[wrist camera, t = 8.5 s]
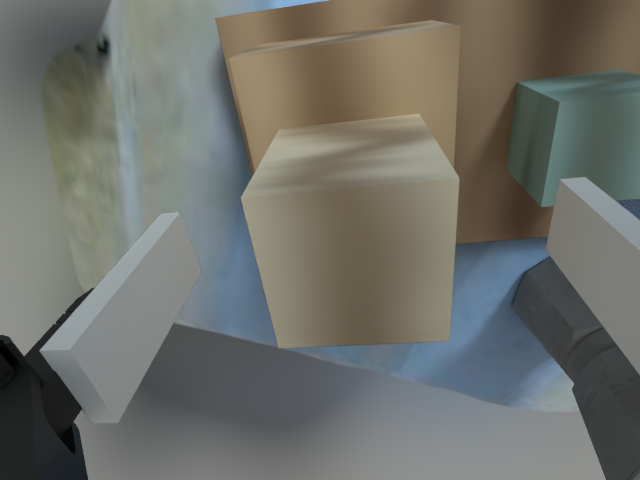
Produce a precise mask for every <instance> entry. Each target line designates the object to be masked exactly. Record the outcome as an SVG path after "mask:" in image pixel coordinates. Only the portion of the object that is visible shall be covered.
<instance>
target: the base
mask: <svg viewBox="0 0 640 480" xmlns="http://www.w3.org/2000/svg"><path fill="white" fill-rule="evenodd" d="M215 19H216V23H217V28H218V32H219V36H220V41H221V45H222V49H223V53H224V58H225V62H226V66H227V71H228V75H229V79H230V83H231V88H232V92H233V96H234V100H235V105H236V109H237V113H238V118H239V122H240V126H241V130H242V135H243V139H244V143H245V148H246V152H247V156H248V160H249V165H250V169H251V173H252V177H253V175H254V173H255V171H256V169H257V168H258V166H259V164H260V162H261V161H262V159H263V157H264V155H265V153H266V152H267V150H268V148H269V146H270V144H271V143H272V141H273V139H274V137H275V136H276V134H277V132H278V130H279V129H287V128H296V127H305V126H314V125H323V124H332V123H341V122H350V121H359V120H368V119H377V118H386V117H395V116H405V115H414V114H420V116H421V117H422V119H423V120H424V122H425V124H426V125H427V127H428V128H429V130H430V132H431V133H432V135H433V136H434V138H435V140H436V141H437V143H438V144H439V146H440V148H441V149H442V151H443V152H444V154H445V156H446V157H447V159H448V160H449V162H450V164H451V165H452V167H453V168H454V170H455V172H456V173H457V175H458V176H459V195H458V211H457V228H456V244H460V243H474V242H487V241H501V240H514V239H528V238H541V237H548V235H549V230H550V225H551V220H552V215H553V210H554V205H555V200H556V195H557V190H558V185H559V181H560V179H567V178H579V177H586V178H587V179H588V180H590V181H591V182H592V183H593V184H595V185H596V186H597V187H599V188H600V189H601V190H602V191H604V192H605V193H606V194H607V195H609V196H610V197H611V198H613V199H614V200H615V201H620V200H632V199H640V0H330V1H323V2H317V3H310V4H304V5H297V6H291V7H284V8H278V9H271V10H265V11H259V12H252V13H246V14H239V15H233V16H226V17H220V18H215Z"/></svg>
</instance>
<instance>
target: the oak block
mask: <svg viewBox="0 0 640 480" xmlns="http://www.w3.org/2000/svg"><path fill="white" fill-rule="evenodd" d="M458 195H459V176H458V175H457V173H456V172H455V170H454V168H453V167H452V165H451V164H450V162H449V160H448V159H447V157H446V156H445V154H444V152H443V151H442V149H441V148H440V146H439V144H438V143H437V141H436V140H435V138H434V136H433V135H432V133H431V132H430V130H429V128H428V127H427V125H426V124H425V122H424V120H423V119H422V117H421V116H420V114H414V115H405V116H395V117H386V118H377V119H368V120H359V121H350V122H341V123H332V124H323V125H314V126H305V127H296V128H287V129H279V130H278V132H277V134H276V136H275V137H274V139H273V141H272V143H271V144H270V146H269V148H268V150H267V152H266V153H265V155H264V157H263V159H262V161H261V162H260V164H259V166H258V168H257V169H256V171H255V173H254V175H253V177H252V178H251V180H250V182H249V184H248V185H247V187H246V189H245V191H244V193H243V194H242V196H241V201H242V205H243V209H244V213H245V217H246V221H247V225H248V229H249V233H250V237H251V241H252V245H253V249H254V253H255V257H256V261H257V265H258V269H259V273H260V277H261V281H262V285H263V288H264V292H265V296H266V300H267V304H268V308H269V312H270V316H271V320H272V324H273V328H274V332H275V336H276V340H277V344H278V348H299V347H323V346H348V345H372V344H396V343H421V342H445V341H450V327H451V311H452V294H453V278H454V261H455V244H456V228H457V211H458Z"/></svg>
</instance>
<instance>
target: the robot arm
mask: <svg viewBox="0 0 640 480" xmlns="http://www.w3.org/2000/svg"><path fill="white" fill-rule="evenodd" d="M546 251H547V252H548V254H549V255H550V256H551V258H552V259H553V260H554V262H555V263H556V264H557V266H558V267H559V268H560V270H561V271H562V272H563V274H564V275H565V276H566V278H567V279H568V280H569V282H570V283H571V284H572V286H573V287H574V288H575V290H576V291H577V292H578V294H579V295H580V296H581V298H582V299H583V300H584V302H585V303H586V304H587V306H588V307H589V308H590V310H591V311H592V312H593V314H594V315H595V316H596V318H597V319H598V320H599V322H600V323H601V324H602V326H603V327H604V328H605V330H606V331H607V332H608V334H609V335H610V336H611V337H612V339H613V340H614V341H615V343H616V344H617V345H618V347H619V348H620V349H621V351H622V352H623V353H624V355H625V356H626V357H627V359H628V360H629V361H630V363H631V364H632V365H633V367H634V368H635V369H636V371H637V372H638V373H639V375H640V220H639V219H638V218H637V217H635V216H634V215H633V214H632V213H630V212H629V211H628V210H627V209H625V208H624V207H623V206H621V205H620V204H619V203H618V202H616V201H615V200H614V199H613V198H611V197H610V196H609V195H607V194H606V193H605V192H604V191H602V190H601V189H600V188H599V187H597V186H596V185H595V184H593V183H592V182H591V181H590V180H588V179H587V178H586V177H579V178H567V179H560V181H559V185H558V190H557V195H556V200H555V205H554V210H553V215H552V220H551V225H550V230H549V235H548V240H547V245H546ZM201 272H202V271H201V268H200V266H199V263H198V260H197V257H196V254H195V252H194V249H193V246H192V243H191V240H190V238H189V235H188V232H187V229H186V227H185V224H184V221H183V218H182V215H181V213H180V212H175V213H163V214H160V215H159V216H158V218H157V219H156V220H155V221H154V222H153V223H152V224H151V225H150V227H149V228H148V229H147V230H146V231H145V232H144V233H143V234H142V236H141V237H140V238H139V239H138V240H137V241H136V242H135V243H134V245H133V246H132V247H131V248H130V249H129V250H128V251H127V252H126V254H125V255H124V256H123V257H122V258H121V259H120V260H119V262H118V263H117V264H116V265H115V266H114V267H113V268H112V269H111V271H110V272H109V273H108V274H107V275H106V276H105V277H104V278H103V280H102V281H101V282H100V283H99V284H98V285H97V286H96V287H95V288H92V289H90V290H89V291H88V292H86V293H85V294H83V295H82V296H81V297H79V298H78V299H77V300H76V301H75V302H74V303H73V304H72V305H71V306H70V307H69V308H68V309H67V311H66V313H65V314H63V315H62V316H61V317H60V318H59V319H58V320H57V321H56V324H54V325H53V326H52V327H51V328H50V329H49V330H48V331H47V332H46V333H45V334H44V335H43V337H42V338H41V339H40V340H39V341H38V342H37V343H36V344H35V345H34V346H33V347H32V349H31V350H30V351H29V352H28V353H27V354H26V355H25V356H23V355H22V353H21V352H20V351H19V349H18V348H17V347H16V345H15V344H14V343H13V342H12V340H11V339H10V338H9V337H8V336H4V335H0V480H88V476H87V471H86V466H85V460H84V455H83V449H82V444H81V438H80V433H79V429H78V428H77V426H76V424H75V423H74V422H73V421H74V420H75V418H76V417H77V415H78V414H79V412H80V411H81V409H82V411H83V412H84V413H85V415H86V416H87V418H88V419H89V420H90V422H91V423H118V422H119V421H120V419H121V417H122V415H123V413H124V411H125V410H126V408H127V406H128V404H129V402H130V401H131V399H132V397H133V395H134V393H135V392H136V390H137V388H138V386H139V384H140V383H141V381H142V379H143V377H144V375H145V374H146V372H147V370H148V368H149V366H150V364H151V363H152V361H153V359H154V357H155V355H156V354H157V352H158V350H159V348H160V346H161V345H162V343H163V341H164V339H165V337H166V336H167V334H168V332H169V330H170V328H171V327H172V325H173V323H174V321H175V319H176V317H177V316H178V314H179V312H180V310H181V308H182V307H183V305H184V303H185V301H186V299H187V298H188V296H189V294H190V292H191V290H192V289H193V287H194V285H195V283H196V281H197V280H198V278H199V276H200V274H201Z"/></svg>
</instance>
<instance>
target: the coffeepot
mask: <svg viewBox="0 0 640 480" xmlns="http://www.w3.org/2000/svg"><path fill="white" fill-rule="evenodd" d="M512 307H513V309H514V310H515V311H516V313H517V314H518V315H519V316H520V318H521V319H522V320H523V322H524V323H525V324H526V326H527V327H528V328H529V330H530V331H531V332H532V333H533V335H534V336H535V337H536V338H537V339H538V340H539V342H540V343H541V344H542V345H543V346H544V348H545V349H546V350H547V351H548V352H549V354H550V355H551V356H552V357H553V358H554V359H555V361H556V362H557V363H558V364H559V365H560V367H561V368H562V369H563V370H564V372H565V373H566V374H567V375H568V376H569V378H570V379H571V380H572V381H573V383H574V386H573V388H572V391H573V393H574V396H575V399H576V401H577V404H578V407H579V409H580V412H581V414H582V417H583V420H584V422H585V425H586V428H587V430H588V433H589V436H590V438H591V441H592V444H593V446H594V449H595V451H596V454H597V456H598V459H599V462H600V465H601V467H602V470H603V473H604V475H605V478H606V480H640V375H639V373H638V372H637V371H636V369H635V368H634V367H633V365H632V364H631V363H630V361H629V360H628V359H627V357H626V356H625V355H624V353H623V352H622V351H621V349H620V348H619V347H618V345H617V344H616V343H615V341H614V340H613V339H612V337H611V336H610V335H609V334H608V332H607V331H606V330H605V328H604V327H603V326H602V324H601V323H600V322H599V320H598V319H597V318H596V316H595V315H594V314H593V312H592V311H591V310H590V308H589V307H588V306H587V304H586V303H585V302H584V300H583V299H582V298H581V296H580V295H579V294H578V292H577V291H576V290H575V288H574V287H573V286H572V284H571V283H570V282H569V280H568V279H567V278H566V276H565V275H564V274H563V272H562V271H561V270H560V268H559V267H558V266H557V264H556V263H555V262H554V260H553V259H552V258H551V257H548V258H547V259H545V260H543V261H542V262H540V263H538V264H537V265H536V266H535V267H533V268H532V269H531V270H529V271H527V273H526V274H525V276H524V277H523V279H522V281H521V282H520V284H519V286H518V288H517V292H516V295H515V300H514V302H513V305H512Z"/></svg>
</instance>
